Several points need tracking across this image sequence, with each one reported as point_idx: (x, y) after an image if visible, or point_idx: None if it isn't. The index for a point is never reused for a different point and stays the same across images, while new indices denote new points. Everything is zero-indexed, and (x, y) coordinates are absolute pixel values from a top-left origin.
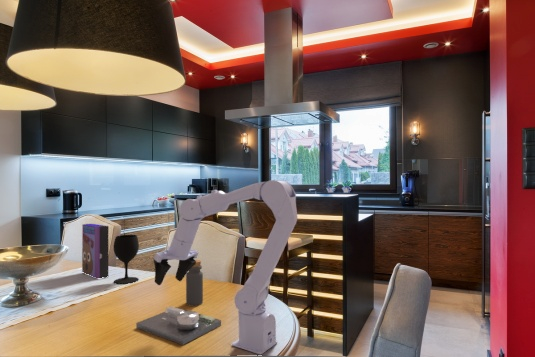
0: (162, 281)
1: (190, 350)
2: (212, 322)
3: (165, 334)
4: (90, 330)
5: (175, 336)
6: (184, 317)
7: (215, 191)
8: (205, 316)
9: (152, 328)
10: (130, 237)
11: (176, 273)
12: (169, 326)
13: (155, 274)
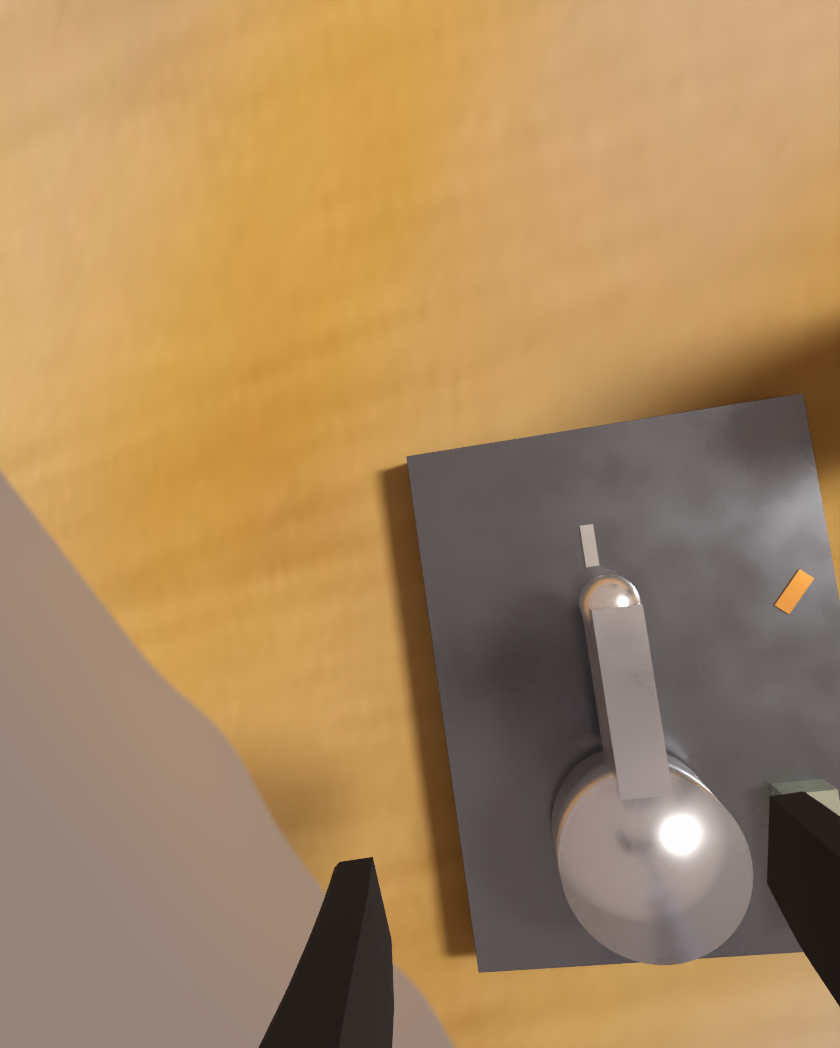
0: (391, 1025)
1: (471, 1043)
2: None
3: (454, 784)
4: (199, 268)
5: (470, 891)
6: (597, 891)
7: None
8: None
9: (434, 641)
10: None
11: (825, 849)
12: (535, 710)
13: (296, 981)
